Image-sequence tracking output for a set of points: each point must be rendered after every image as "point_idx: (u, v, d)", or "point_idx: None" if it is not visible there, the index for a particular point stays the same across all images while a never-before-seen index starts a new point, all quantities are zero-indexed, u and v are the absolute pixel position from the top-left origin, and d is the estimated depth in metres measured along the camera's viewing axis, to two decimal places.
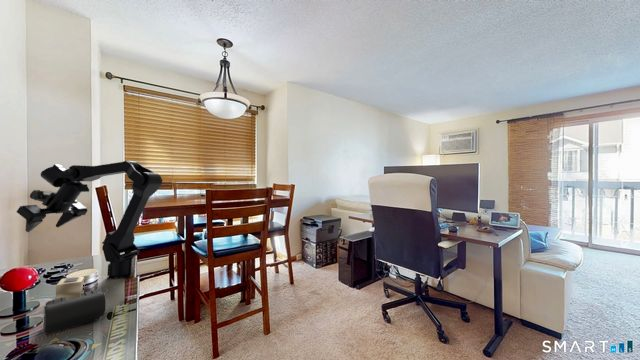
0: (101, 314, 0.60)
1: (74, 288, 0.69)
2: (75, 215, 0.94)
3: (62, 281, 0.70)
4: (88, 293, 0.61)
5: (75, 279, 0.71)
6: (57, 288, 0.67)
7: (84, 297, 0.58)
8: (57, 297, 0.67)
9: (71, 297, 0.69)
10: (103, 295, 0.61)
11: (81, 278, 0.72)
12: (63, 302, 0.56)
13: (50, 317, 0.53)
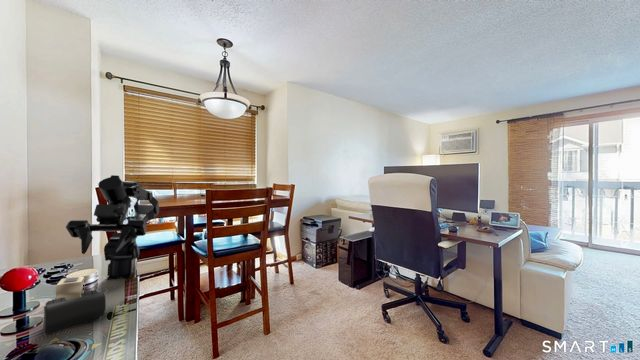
0: (101, 314, 0.60)
1: (74, 288, 0.69)
2: None
3: (62, 281, 0.70)
4: (88, 293, 0.61)
5: (75, 279, 0.71)
6: (57, 288, 0.67)
7: (84, 297, 0.58)
8: (57, 297, 0.67)
9: (71, 297, 0.69)
10: (103, 295, 0.61)
11: (81, 278, 0.72)
12: (63, 302, 0.56)
13: (50, 317, 0.53)
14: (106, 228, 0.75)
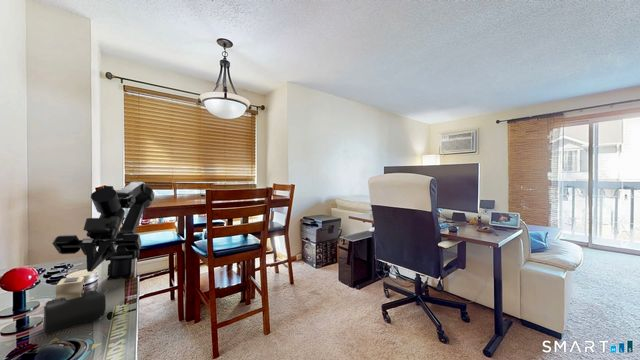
0: (101, 314, 0.60)
1: (74, 288, 0.69)
2: None
3: (62, 281, 0.70)
4: (88, 293, 0.61)
5: (75, 279, 0.71)
6: (57, 288, 0.67)
7: (84, 297, 0.58)
8: (57, 297, 0.67)
9: (71, 297, 0.69)
10: (103, 295, 0.61)
11: (81, 278, 0.72)
12: (63, 302, 0.56)
13: (50, 317, 0.53)
14: (97, 243, 0.69)
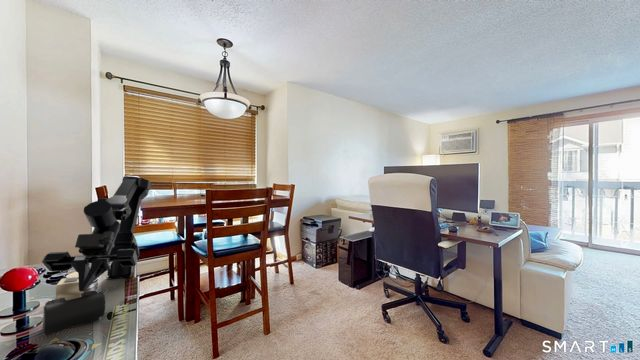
0: (101, 314, 0.59)
1: (74, 288, 0.69)
2: None
3: (62, 281, 0.70)
4: (88, 293, 0.61)
5: (75, 279, 0.71)
6: (57, 288, 0.67)
7: (84, 297, 0.58)
8: (57, 297, 0.67)
9: (71, 297, 0.69)
10: (103, 295, 0.60)
11: None
12: (62, 302, 0.56)
13: (49, 317, 0.53)
14: (90, 260, 0.66)
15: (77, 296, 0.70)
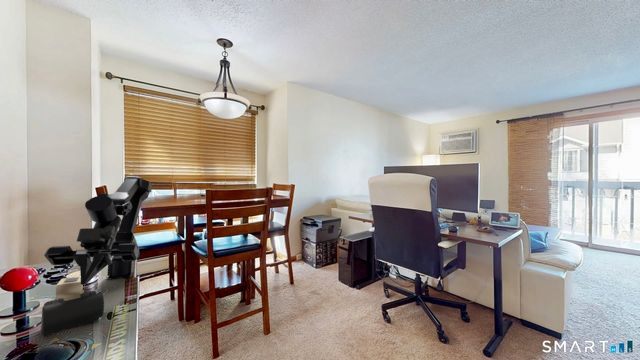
0: (99, 315, 0.59)
1: (74, 288, 0.69)
2: None
3: (62, 281, 0.70)
4: (87, 294, 0.61)
5: (75, 279, 0.71)
6: (57, 288, 0.67)
7: (82, 298, 0.58)
8: (57, 297, 0.67)
9: (71, 297, 0.69)
10: (101, 296, 0.60)
11: None
12: (61, 303, 0.55)
13: (47, 318, 0.52)
14: (92, 254, 0.66)
15: (77, 296, 0.70)
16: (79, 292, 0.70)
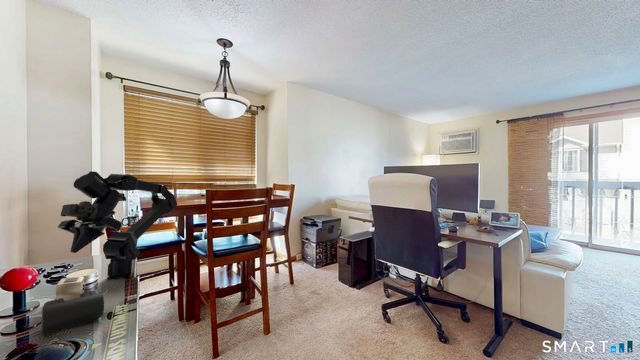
0: (99, 315, 0.59)
1: (74, 288, 0.69)
2: None
3: (62, 281, 0.70)
4: (87, 294, 0.61)
5: (75, 279, 0.71)
6: (57, 288, 0.67)
7: (82, 298, 0.58)
8: (57, 297, 0.67)
9: (71, 297, 0.69)
10: (101, 296, 0.60)
11: (81, 278, 0.72)
12: (61, 303, 0.55)
13: (47, 318, 0.52)
14: (87, 226, 0.75)
15: (77, 296, 0.70)
16: (79, 292, 0.70)
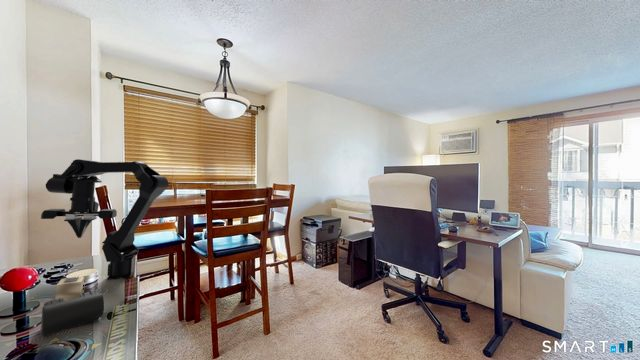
0: (99, 315, 0.59)
1: (74, 288, 0.69)
2: (84, 219, 0.85)
3: (62, 281, 0.70)
4: (87, 294, 0.61)
5: (75, 279, 0.71)
6: (57, 288, 0.67)
7: (82, 298, 0.58)
8: (57, 297, 0.67)
9: (71, 297, 0.69)
10: (101, 296, 0.60)
11: (81, 278, 0.72)
12: (61, 303, 0.55)
13: (47, 318, 0.52)
14: None
15: (77, 296, 0.70)
16: (79, 292, 0.70)
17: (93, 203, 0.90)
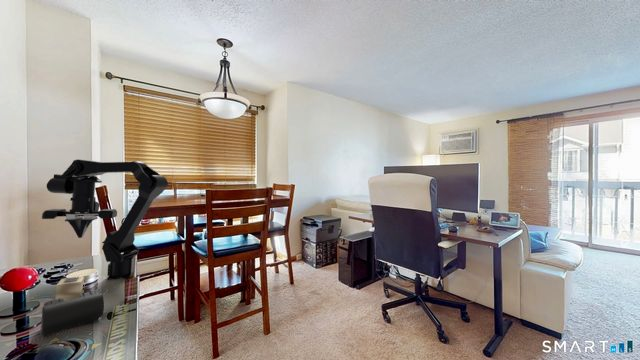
0: (99, 315, 0.59)
1: (74, 288, 0.69)
2: (84, 219, 0.86)
3: (62, 281, 0.70)
4: (86, 294, 0.61)
5: (75, 279, 0.71)
6: (57, 288, 0.67)
7: (82, 298, 0.58)
8: (57, 297, 0.67)
9: (71, 297, 0.69)
10: (101, 296, 0.60)
11: (81, 278, 0.72)
12: (61, 303, 0.55)
13: (47, 318, 0.52)
14: None
15: (77, 296, 0.70)
16: (79, 292, 0.70)
17: (94, 203, 0.90)
